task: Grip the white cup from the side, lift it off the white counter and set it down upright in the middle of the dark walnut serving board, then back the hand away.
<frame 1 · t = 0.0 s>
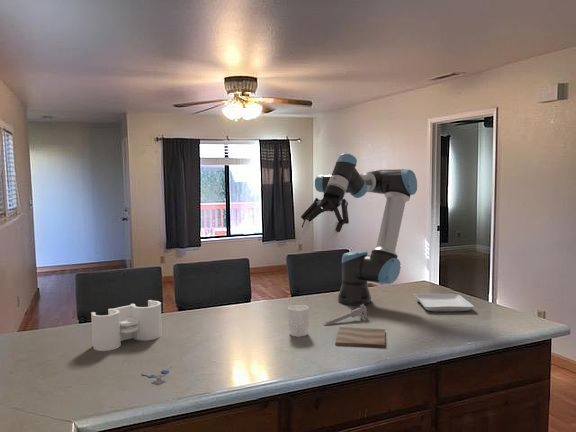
hand: (316, 237, 178), 36 cm above the worktop, tool tilted 35°, fingers open, 13 cm apart
salad plate: (442, 307, 216), on the worktop
caliper: (345, 322, 196), on the worktop
key chain: (154, 377, 145), on the worktop
bracket: (129, 341, 175), on the worktop
walnut board: (361, 338, 176), on the worktop
white cup: (298, 334, 181), on the worktop
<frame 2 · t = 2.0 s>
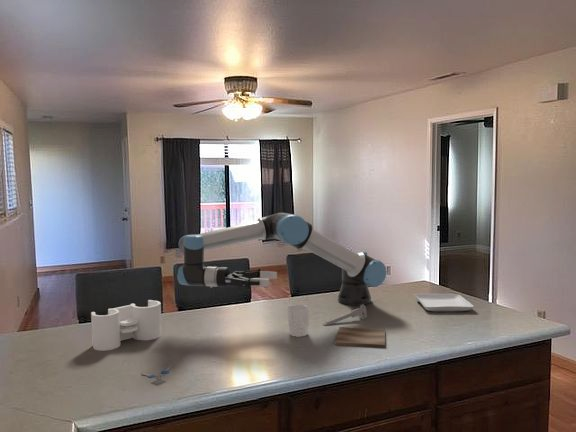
hand: (273, 278, 181), 20 cm above the worktop, tool horizontal, fingers open, 13 cm apart
nothing on the worktop moved.
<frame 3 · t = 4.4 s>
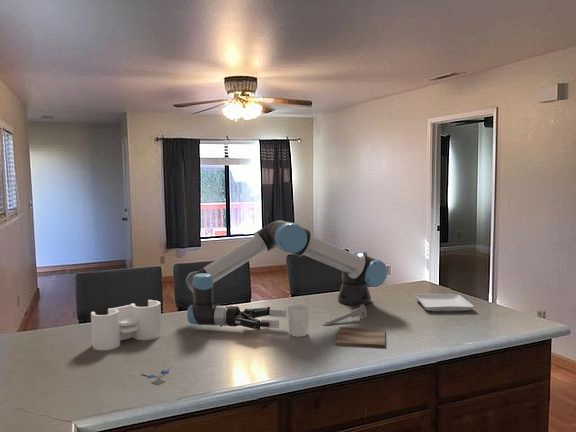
hand: (282, 318, 181), 6 cm above the worktop, tool horizontal, fingers open, 13 cm apart
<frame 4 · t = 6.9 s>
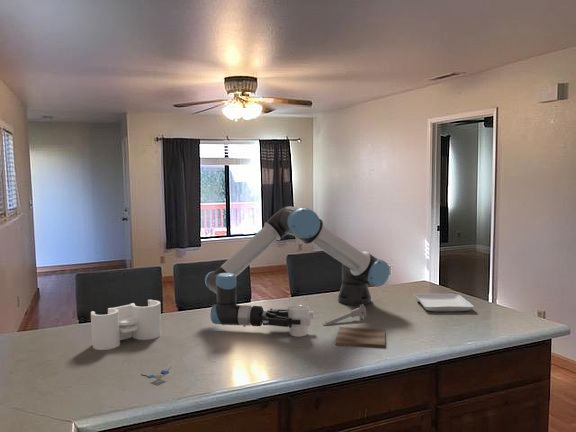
hand: (311, 318, 180), 6 cm above the worktop, tool horizontal, fingers closed on white cup, 8 cm apart
white cup: (298, 334, 181), on the worktop, touching gripper
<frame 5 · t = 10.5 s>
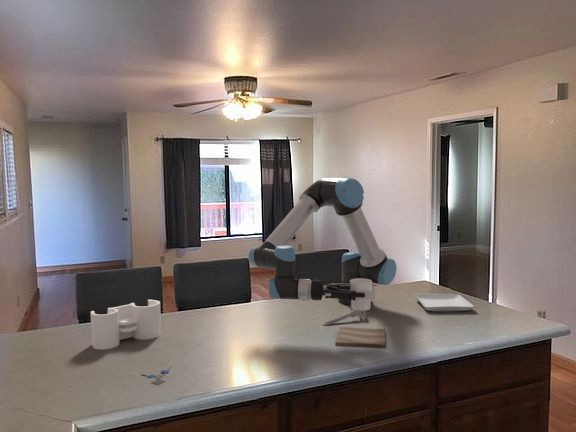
hand: (374, 292, 173), 17 cm above the worktop, tool horizontal, fingers closed on white cup, 8 cm apart
white cup: (360, 308, 175), point 11 cm above the worktop, touching gripper
when the fingers open (8 cm above the worktop, at t = 12.7 s): white cup stays where it is, point 2 cm above the worktop.
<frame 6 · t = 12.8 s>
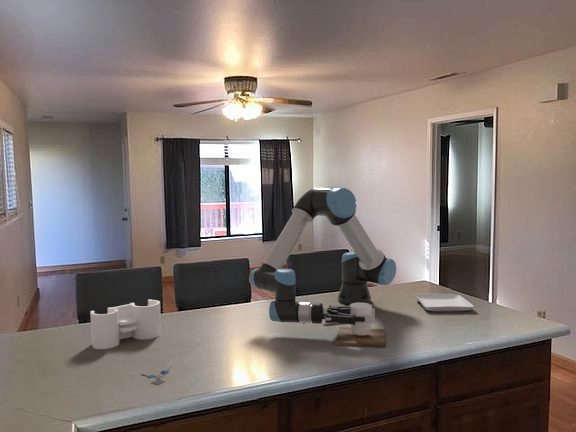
hand: (374, 315, 174), 8 cm above the worktop, tool horizontal, fingers open, 8 cm apart
white cup: (360, 333, 176), point 2 cm above the worktop
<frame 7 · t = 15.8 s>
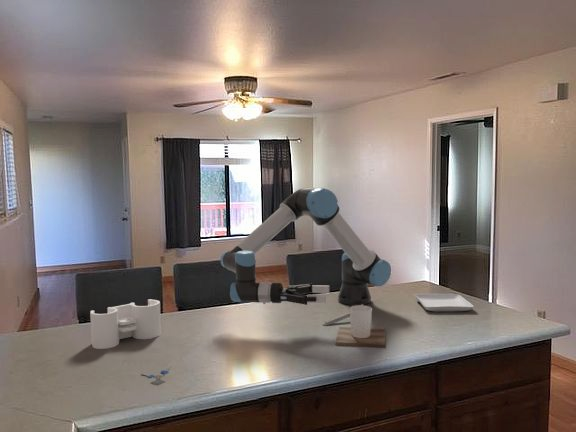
hand: (327, 293, 180), 15 cm above the worktop, tool horizontal, fingers open, 13 cm apart
white cup: (360, 335, 176), point 1 cm above the worktop, touching walnut board
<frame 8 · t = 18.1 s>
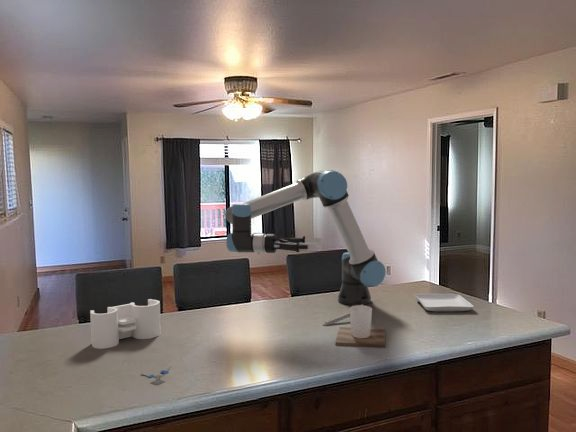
hand: (319, 244, 189), 32 cm above the worktop, tool horizontal, fingers open, 13 cm apart
at the end: white cup inside the target area on the walnut board (0.1 cm from its centre), point 0.8 cm above the walnut board's base; white cup tilted 0°; the gripper is holding nothing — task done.
